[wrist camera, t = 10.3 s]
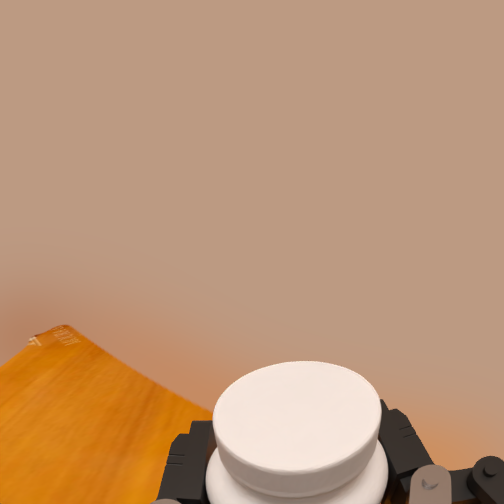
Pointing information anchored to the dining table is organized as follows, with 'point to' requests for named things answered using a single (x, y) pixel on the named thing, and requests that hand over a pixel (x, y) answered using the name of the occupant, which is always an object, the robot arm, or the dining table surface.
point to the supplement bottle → (298, 438)
